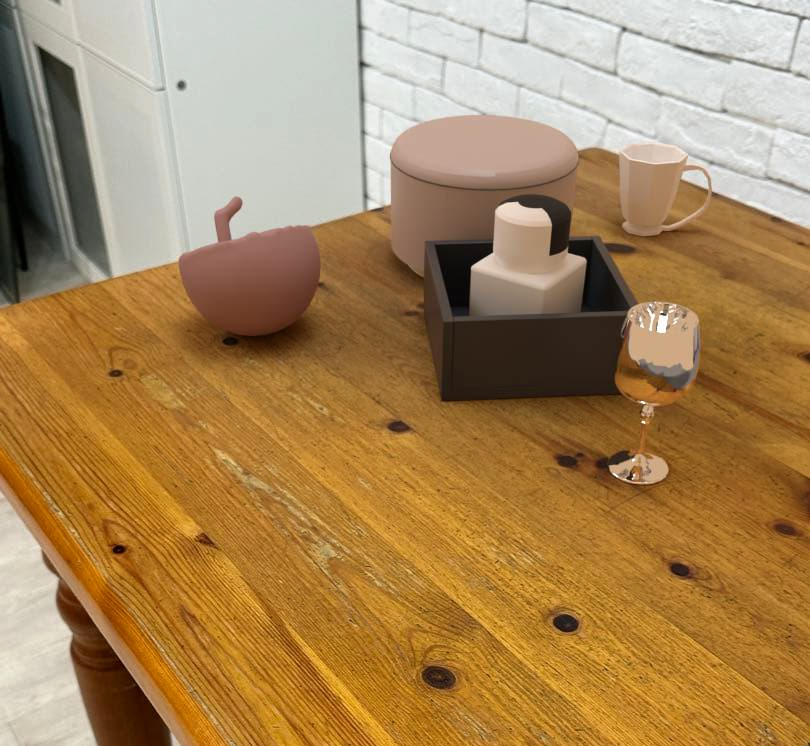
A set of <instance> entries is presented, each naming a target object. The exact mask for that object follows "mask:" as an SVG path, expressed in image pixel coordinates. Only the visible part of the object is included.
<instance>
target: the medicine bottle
mask: <svg viewBox="0 0 810 746" xmlns="http://www.w3.org/2000/svg"><path fill="white" fill-rule="evenodd" d="M570 224H571V211H570V209H569V208H568V206H567V205H566V204H565V203H563V202H561V201H559V200H557V199H555V198H552V197H549V196H545V195H537V194H526V195H519V196H515V197H512V198H509V199H506V200H504V201H502V202H501V203H500V204H499V205H498V206H497V208H496V210H495V225H494V243H493V253H492V254H490V255H488V256H487V257H485V258H484V259H482V260H481V261H479V262H477V263H476V264H474V265H473V266H472V267H471V274H470V297H469V316H490V315H520V314H550V313H581V305H582V297H583V288H584V280H585V271H586V263H587V262H586V259H585V258H584V257H581V256H577V255H573V254H569V253H568V243H569V234H570Z"/></svg>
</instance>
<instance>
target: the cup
mask: <svg viewBox="0 0 810 746" xmlns="http://www.w3.org/2000/svg"><path fill="white" fill-rule="evenodd" d="M688 158H689V153H687V152H686V151H684V150H683V149H682V148H680V147H679V146H678V145H673V144H667V143H662V142H656V141H645V142H633V143H628V144H627V145H626V146H624V147H623V148H622V149H620V150H618V164H619V165H618V167H619V200H620V207H621V214H622V215H621V216H622V218H623V219H625V221H624V222H622V224H621V228H622V229H623V230H624V231H625V232H626V233H627V234H630V235H635V236H640V237H651V236H659V235H660V234H661V233H662V232H671V231H674V230H676V229H679V228H681V227H683V226H684V225H687V224H689V223H690V222H692V221H694V220H695V219H697V218H699V217H700V216H701V215H702V214H703V213H704V212H705V211H706V210H707V209H708V207H709V205H710V202H711V200H712V195H713V186H712V185H713V184H712V178H711V174H710V173H709V171H708V170H707V168H706V166H704V165H702V164H700V163H696V162H687V161H688ZM696 170H699V171H701V172H702V174H703V175H704V176H705V178H706V180H707V185H708V186H707V187H708V188H707V189H708V191H707V197H706V200H705V201H704V204H703V205H702V206H701V207H700V208H698V209H697V210H696V211H695V212H693V213H692V214H690V215H689V216H687V217H685V218H684V219H681V220H680V221H677V222H675V223H672V224H668V225H667V224H666V225H665V224H663V223H664V222H665V221H666V220H667V218H668V216H669V213H670V211H671V209H672V207H673V204H674V202H675V200H676V197H677V193H678V190H679V187H680V183H681V180H682V177H683V174H684V172H689V171H696Z"/></svg>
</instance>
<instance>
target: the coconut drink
mask: <svg viewBox="0 0 810 746" xmlns="http://www.w3.org/2000/svg"><path fill="white" fill-rule="evenodd" d="M243 203H244V202H243V199H242V198H241V197H240V196H236V195H235V196H234V197H232V198H231V199H230V201H229V202H228V203H227V204H226V205H224V207H222V208H220V209H217V210H216V211H215V212H214V215H213V220H214V226H215V232H216V238H217V242H215V243H211V244H207V245H205V246H201V247H198V248H195V249H193V250H191V251H186V252H184V253H182V254H181V255H180V256H179V258H178V263H177V264H178V270H179V275H180V279H181V282H182V286H183V288H184V292H185V293H186V296H187V297H188V299H189V300H190V303H191V304H192V305H193V307H194V308H195V310H197V312H198V313H199V314H201V316H202V317H203V318H204V319H205V320H207V321H208V322H209V323H211V324H212V325H214V326H216V327H217V328H219V329H221V330H223V331H225V332H228V333H232V334H234V335H239V336H246V337H247V336H248V337H258V336H259V337H261V336H265V335H270V334H274V333H277V332H279V331H281V330H284V329H285V328H287V327H289V326H290V325H292V324H293V323H294V322H296V321H297V320H298V319H299V318H300V317H302V315H303V314H304V313H305V312H306V310H307V309H308V308H309V306H310V305H311V303H312V302H313V299H314V297H315V295H316V293H317V289H318V287H319V282H320V277H321V254H320V249H319V246H318V242H317V240H316V237H315V235H314V233H313V230H312V229H311V226H310V225H306V224H303V225H301V224H298V225H295V226H293V225H287V226H285V227H277V228H272V229H271V228H270V229H269V230H264V231H261V232H257V231H251V232H249V233H247V234H246V235H244V236H240V237H239V238H232V233H231V227H230V221H231V220H232V218H234V216H235V215H236V214H237V213H238V212H240V210H241V209H242V207H243Z"/></svg>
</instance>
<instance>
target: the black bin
mask: <svg viewBox="0 0 810 746" xmlns="http://www.w3.org/2000/svg"><path fill="white" fill-rule="evenodd" d="M493 243H494V239H474V240H439V241H425V249H424V277H423V318H424V322H425V328H426V332H427V338H428V342H429V347H430V352H431V357H432V361H433V366H434V367H433V368H434V373H435V376H436V381H437V386H438V391H439V396H440V400H441V401H442V402H446V401H447V402H449V401H471V400H473V401H475V400H476V401H477V400H498V399H499V400H501V399H523V398H524V399H526V398H549V397H550V398H551V397H578V396H579V397H581V396H605V395H623V394H622V393H621V392H620V391H619V389H618V388H617V386H616V384H615V382H614V379H613V373H612V359H613V354H614V349H615V345H616V341H617V338H618V335H619V332H620V330H621V327H622V325H623V322H624V320H625V318H626V316H627V314H628V311H629V310H630V309H631V308H632V307H633V306H635V305H638V304H639V303H638V301H637V299H636V297H635V296H634V294H633V292H632V290H631V288H630V287H629V285H628V283H627V281H626V279H625V278H624V276H623V274H622V273H621V271H620V270H619V269H620V268H618V266H617V264H616V263H615V262H616V261H614V259H613V257H612V255H611V254H610V252H609V250H608V249H607V246H606V244H605V243H604V241H603V240H602V238H601V236H600V235H583V236H570V237H569V243H568V253H569V254H573V255H577V256H581V257H584V258H585V259H586V262H587V263H586V271H585V280H584V288H583V297H582V305H581V313H550V314H520V315H490V316H469V297H470V274H471V267H472V266H473V265H474V264H476V263H477V262H479V261H481V260H482V259H484V258H485V257H487V256H488V255H490V254H492V253H493Z"/></svg>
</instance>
